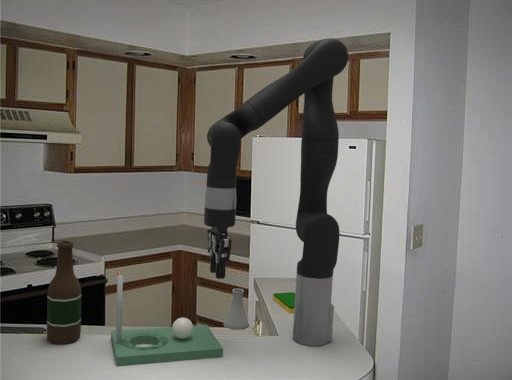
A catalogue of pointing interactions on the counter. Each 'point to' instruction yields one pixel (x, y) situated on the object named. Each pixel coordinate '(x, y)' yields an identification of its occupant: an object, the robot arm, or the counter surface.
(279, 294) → the dish sponge
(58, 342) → the beer bottle
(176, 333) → the ball
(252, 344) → the counter surface
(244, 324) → the flask
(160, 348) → the putting board
